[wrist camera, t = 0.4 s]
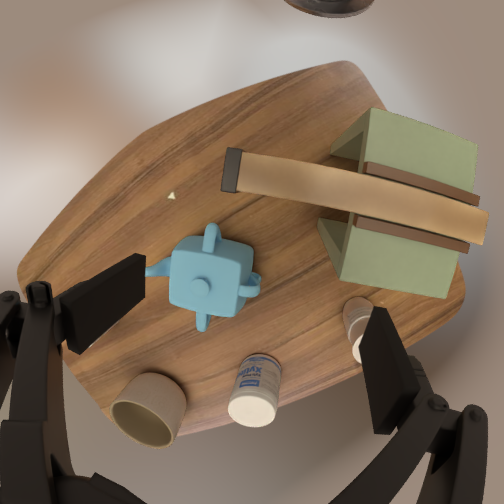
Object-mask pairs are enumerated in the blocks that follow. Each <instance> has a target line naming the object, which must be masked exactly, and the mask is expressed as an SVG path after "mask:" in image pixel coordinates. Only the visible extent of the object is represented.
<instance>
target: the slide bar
mask: <svg viewBox="0 0 504 504" xmlns="http://www.w3.org/2000/svg"><path fill="white" fill-rule="evenodd" d="M221 191H223V192H229V193H238V192H247V193H253V194H259V195H265V196H271V197H277V198H282V199H288V200H293V201H299V202H304V203H309V204H314V205H319V206H324V207H329V208H334V209H339V210H344V211H348V212H353V213H358V214H362V215H367V216H371V217H375V218H380V219H384V220H388V221H392V222H397V223H401V224H405V225H409V226H413V227H417V228H421V229H425V230H428V231H432V232H436V233H440V234H443V235H447V236H451V237H454V238H458V239H461V240H465V241H468V242H472V243H475V244H478V245H482V244H483V240H484V236H485V231H486V226H487V222H488V217H489V213H488V212H486V211H484V210H481V209H478V208H475V207H473V206H470V205H467V204H464V203H461V202H458V201H455V200H452V199H449V198H446V197H443V196H440V195H437V194H434V193H430V192H427V191H424V190H420V189H417V188H414V187H410V186H407V185H403V184H399V183H396V182H392V181H388V180H384V179H380V178H377V177H373V176H368V175H364V174H360V173H356V172H351V171H347V170H343V169H338V168H333V167H328V166H324V165H319V164H314V163H308V162H303V161H297V160H292V159H286V158H280V157H274V156H268V155H261V154H254V153H248V152H246V151H244V150H242V149H238V148H230V147H227V150H226V156H225V163H224V169H223V176H222V183H221Z"/></svg>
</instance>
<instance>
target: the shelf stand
mask: <svg viewBox="0 0 504 504" xmlns="http://www.w3.org/2000/svg"><path fill="white" fill-rule="evenodd" d="M477 151H478V145H477V144H475V143H473V142H470V141H468V140H466V139H463V138H461V137H459V136H456V135H454V134H451V133H449V132H446V131H444V130H441V129H439V128H436V127H433V126H431V125H428V124H425V123H422V122H419V121H416V120H413V119H410V118H407V117H404V116H401V115H398V114H394V113H391V112H388V111H384V110H381V109H377V108H374V107H371V108H370V109H368V110H367V111H366V112H365V113H364V114H363V115H362V116H361V117H360V118H359V119H358V120H357V121H355V122H354V123H353V124H352V125H351V126H350V127H349V128H348V129H347V130H346V131H345V132H344V133H343V134H342V135H341V136H340V137H339V138H338V139H336V140H335V141H334V142H333V143H332V144H331V149H330V155H334V156H339V157H343V158H348V159H352V160H356V161H359V166H358V172H357V173H360V174H364V175H368V176H373V177H377V178H380V179H384V180H388V181H392V182H396V183H399V184H403V185H407V186H410V187H414V188H417V189H420V190H424V191H427V192H430V193H434V194H437V195H440V196H443V197H446V198H449V199H452V200H455V201H458V202H461V203H464V204H467V205H473V206H478V204H479V200H480V196H478V195H475V194H472V192H473V186H474V179H475V170H476V162H477ZM317 229H318V231H319V234H320V236H321V238H322V240H323V243H324V245H325V247H326V250H327V252H328V254H329V257H330V259H331V261H332V264H333V266H334V268H335V271H336V273H337V276H338V278H339V280H341V281H346V282H352V283H357V284H363V285H368V286H374V287H380V288H385V289H391V290H396V291H402V292H408V293H413V294H419V295H425V296H431V297H436V298H442V299H446V296H447V293H448V290H449V287H450V284H451V281H452V277H453V274H454V271H455V267H456V264H457V260H458V256H459V253H460V252H462V253H466V254H467V253H468V250H469V247H470V244H469V243H467V242H465V241H463V240H461V239H458V238H454V237H451V236H447V235H443V234H440V233H436V232H432V231H428V230H425V229H421V228H417V227H413V226H409V225H405V224H401V223H397V222H392V221H388V220H384V219H380V218H375V217H371V216H367V215H362V214H358V213H353V212H350V216H349V221H348V223H345V222H340V221H335V220H330V219H325V218H320V217H319V218H318V223H317Z"/></svg>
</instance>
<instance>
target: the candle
mask: <svg viewBox="0 0 504 504" xmlns="http://www.w3.org/2000/svg"><path fill="white" fill-rule="evenodd" d="M372 310H373V305H372V304H371V302H369V301H368V300H366V299H365V298H363V297H354V298H351V299H350V300H348V301H347V302H346V304H345V306H344V308H343V315H342V316H343V321H344V324H345V329H346V332H347V336H348V339H349V341H350V342H351V343H352V352H353V355H354V358H355V359H356V360H357V361H358V362H360V363H361V358H360V353H359V349H358V346H359V344H360V341H361V339H362V336H363V334H364V331H365V329H366V326H367V323H368V321H369V318H370V315H371V312H372Z"/></svg>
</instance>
